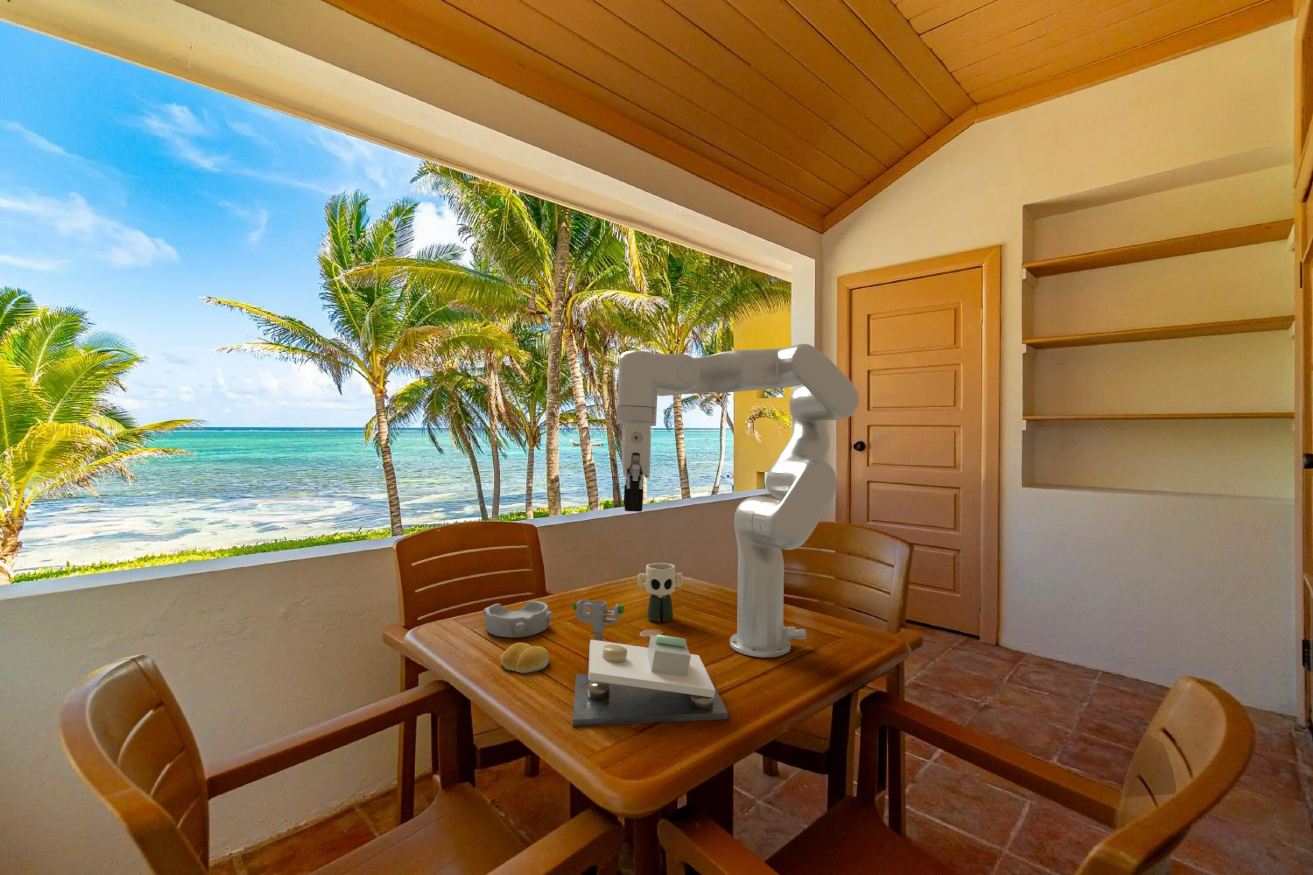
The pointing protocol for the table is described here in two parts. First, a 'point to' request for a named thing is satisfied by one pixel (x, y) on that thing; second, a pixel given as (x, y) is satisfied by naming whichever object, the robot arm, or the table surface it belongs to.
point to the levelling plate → (643, 672)
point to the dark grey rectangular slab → (639, 704)
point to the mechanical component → (597, 615)
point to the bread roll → (525, 658)
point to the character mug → (660, 589)
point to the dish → (518, 620)
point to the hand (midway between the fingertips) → (632, 508)
